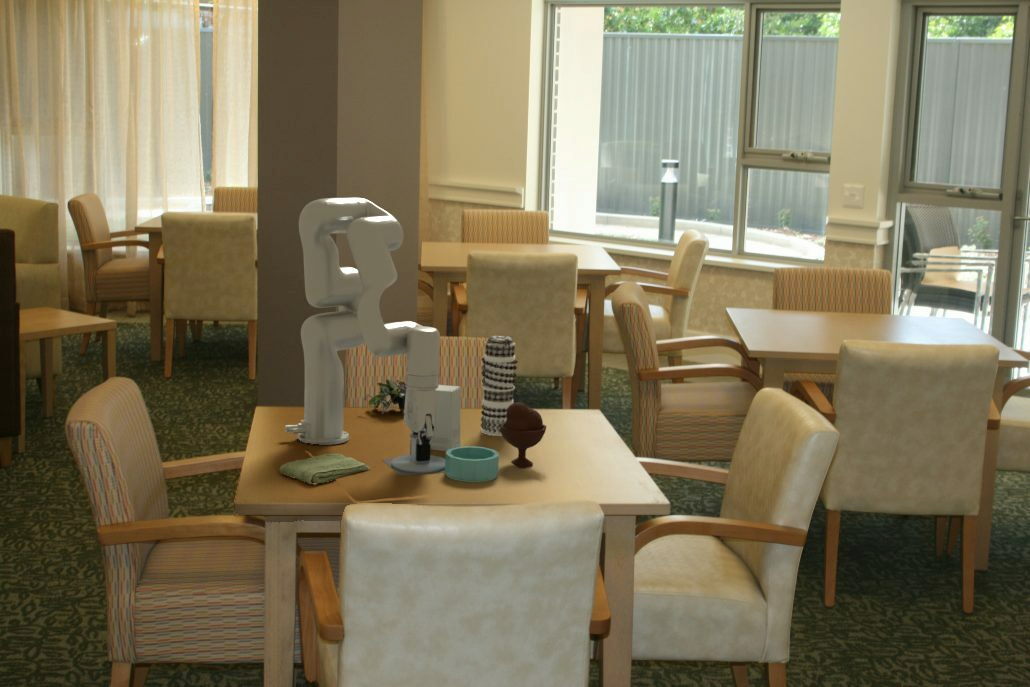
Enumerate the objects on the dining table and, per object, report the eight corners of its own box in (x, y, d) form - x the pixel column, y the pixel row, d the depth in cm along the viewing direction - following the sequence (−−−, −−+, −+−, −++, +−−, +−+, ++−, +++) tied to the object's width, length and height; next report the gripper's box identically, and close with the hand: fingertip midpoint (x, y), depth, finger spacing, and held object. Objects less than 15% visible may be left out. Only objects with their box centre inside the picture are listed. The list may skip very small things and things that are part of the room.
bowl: (456, 486, 280) (457, 462, 279) (438, 471, 290) (439, 448, 289) (505, 481, 284) (506, 458, 283) (486, 467, 295) (486, 444, 294)
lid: (401, 475, 284) (402, 445, 283) (384, 459, 296) (385, 431, 295) (455, 470, 289) (456, 442, 288) (436, 455, 301) (437, 428, 300)
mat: (400, 478, 284) (400, 475, 284) (381, 461, 296) (381, 459, 296) (458, 473, 289) (458, 471, 289) (438, 457, 302) (438, 455, 302)
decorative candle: (508, 438, 322) (512, 341, 318) (474, 433, 325) (477, 338, 321) (519, 430, 331) (523, 336, 326) (486, 426, 334) (489, 332, 329)
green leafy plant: (400, 430, 347) (426, 398, 344) (377, 430, 338) (402, 398, 334) (377, 402, 352) (401, 370, 348) (353, 401, 342) (378, 369, 339)
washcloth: (373, 473, 288) (373, 460, 287) (312, 488, 275) (312, 474, 274) (335, 461, 297) (336, 448, 296) (275, 475, 284) (275, 461, 283)
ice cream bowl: (512, 473, 291) (515, 410, 289) (491, 460, 301) (493, 399, 298) (552, 468, 296) (555, 406, 293) (530, 456, 306) (532, 396, 303)
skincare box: (460, 448, 311) (462, 386, 308) (450, 454, 305) (452, 391, 302) (429, 444, 314) (431, 382, 311) (418, 450, 308) (420, 387, 305)
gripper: (395, 374, 295) (393, 450, 298) (418, 389, 280) (416, 469, 283) (425, 372, 298) (423, 447, 301) (450, 387, 283) (447, 466, 286)
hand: (420, 457), depth 292 cm, fingers open, 3 cm apart
